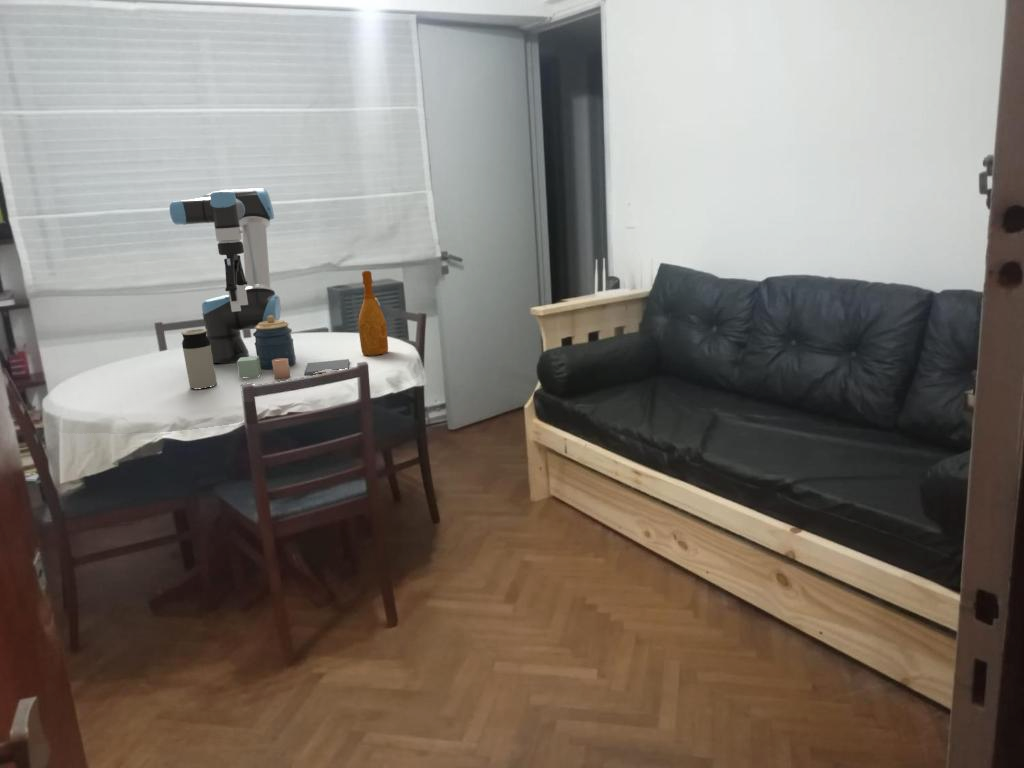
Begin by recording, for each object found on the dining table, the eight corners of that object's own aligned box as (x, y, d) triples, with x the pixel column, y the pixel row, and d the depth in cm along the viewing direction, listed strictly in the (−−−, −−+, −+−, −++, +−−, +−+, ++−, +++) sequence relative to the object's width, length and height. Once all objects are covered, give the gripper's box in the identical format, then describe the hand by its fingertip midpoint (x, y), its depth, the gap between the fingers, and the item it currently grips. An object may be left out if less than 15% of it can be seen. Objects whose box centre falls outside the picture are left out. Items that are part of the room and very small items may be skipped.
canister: (304, 362, 256) (297, 313, 251) (275, 371, 245) (267, 319, 241) (279, 359, 263) (272, 311, 258) (250, 367, 252) (242, 317, 247)
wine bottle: (382, 356, 257) (373, 272, 250) (356, 356, 260) (347, 272, 252) (393, 350, 267) (384, 268, 259) (369, 350, 269) (360, 269, 261)
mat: (308, 365, 250) (307, 362, 250) (349, 361, 252) (349, 359, 252) (304, 375, 237) (304, 372, 236) (348, 371, 239) (347, 368, 239)
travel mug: (222, 383, 232) (213, 328, 227) (203, 390, 225) (193, 333, 220) (203, 382, 235) (194, 328, 230) (184, 389, 228) (174, 333, 223)
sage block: (243, 374, 243) (240, 357, 241) (261, 373, 244) (258, 355, 242) (239, 379, 237) (237, 361, 236) (258, 377, 238) (256, 359, 237)
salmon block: (275, 376, 238) (272, 358, 236) (291, 375, 238) (288, 357, 237) (273, 380, 233) (270, 362, 231) (289, 378, 234) (286, 360, 232)
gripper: (235, 243, 218) (245, 313, 223) (248, 238, 241) (258, 301, 247) (208, 245, 216) (220, 315, 222) (225, 240, 240) (235, 303, 246)
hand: (240, 308), depth 234 cm, fingers open, 13 cm apart
